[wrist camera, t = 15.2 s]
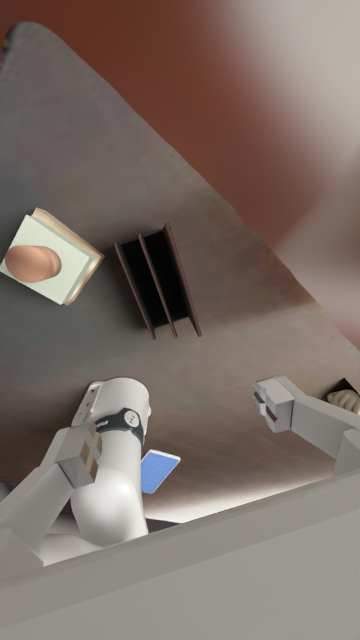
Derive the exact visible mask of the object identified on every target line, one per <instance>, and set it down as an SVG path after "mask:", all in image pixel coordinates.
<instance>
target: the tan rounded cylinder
mask: <svg viewBox="0 0 360 640" xmlns="http://www.w3.org/2000/svg"><path fill="white" fill-rule="evenodd" d="M5 264H6V267H7V269H8V271H9V272H10V273H11V275H12V276H14V277H15V278H16V279H18V280H20V281H22V282H25V283H36V282H39V281H43V280H46V279H49V278H53V277H55V276H57V275H58V274H59V273H60V271H61V268H62V263H61V260H60V258H59V256H58V254H57V253H56V252H55V251H53V250H52V249H50V248H48V247H45V246H24V245H19V246H14V247H12V248H10V249H9V250H8V251H7V253H6V255H5Z"/></svg>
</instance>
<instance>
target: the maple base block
mask: <svg viewBox="0 0 360 640" xmlns="http://www.w3.org/2000/svg"><path fill="white" fill-rule="evenodd" d="M32 217H36V218H39V219H41V220H43V221H44V222H46V223H47V224H49V225H50V226H52V227H53V228H54V229H56V230H57V231H59V232H60V233H62V234H63V235H65V236H66V237H68V238H69V239H71V240H72V241H73V242H75V243H76V244H78V245H79V246H81V247H82V248H84V249H85V250H87V251H88V252H90V253H91V254H92V255H94V256H95V259H94V260H93V262H92V264H91V265H90V267H89V268H88V270H87V272H86V273H85V275H84V277H83V278H82V280H81V281H80V283H79V285H78V286H77V288H76V290H75V291H74V293H73V294H72V296H71V298H70V299H69V300H68V301H66V302H65V303H64V304H66V305H69V304H70V303H72V302H73V301H74V300H75V298H76V297H77V296H78V294H79V293H80V291H81V290H82V288H83V287H84V286H85V284H86V283H87V281H88V280H89V279H90V277H91V276H92V274H93V273H94V272H95V270H96V269H97V267H98V266H99V265H100V263H101V262H102V260H103V259H104V257H105V255H103V254H102V253H101V252H99V251H98V250H97V249H95V248H94V247H93V246H92V245H90V244H89V243H88V242H86V241H85V240H84V239H82V238H81V237H80V236H78V235H77V234H76V233H75V232H73V231H72V230H71V229H69V228H68V227H67V226H65V225H64V224H63V223H62V222H60V221H59V220H58V219H56V218H55V217H54V216H52V215H51V214H50V213H49V212H47V211H45V210H42V209H40V208H36V209H35V211H34V213H33V214H32Z"/></svg>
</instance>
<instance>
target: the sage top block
mask: <svg viewBox="0 0 360 640" xmlns="http://www.w3.org/2000/svg"><path fill="white" fill-rule="evenodd" d="M19 245H24V246H45V247H48V248H50V249H52V250H53V251H55V252H56V253H57V254H58V256H59V258H60V260H61V263H62V268H61V271H60V273H59V274H58V275H57V276H55V277H53V278H49V279H46V280H43V281H39V282H36V283H25V282H22V281H20V280H18V279H16V278H15V277H14V276H12V275H11V273H10V272H9V271H8V269H7V267H6V264H5V258H4V260H3V262H2V263H1V265H0V272H2V273H4V274H6V275H8V276H9V277H11V278H13V279H15V280H17V281H18V282H20V283H22V284H24V285H26V286H28V287H29V288H31V289H33V290H35V291H37V292H38V293H40V294H42V295H44V296H46V297H47V298H49V299H51V300H53V301H55V302H56V303H58V304H60V305H61V304H63V303H65V302H66V301H68V300H69V299H70V298H71V296H72V294H73V293H74V291H75V290H76V288H77V286H78V285H79V283H80V281H81V280H82V278H83V277H84V275H85V273H86V272H87V270H88V268H89V267H90V265H91V264H92V262H93V260H94V259H95V256H94V255H92V254H91V253H90V252H88V251H87V250H85V249H84V248H82V247H81V246H79V245H78V244H76V243H75V242H73V241H72V240H71V239H69V238H68V237H66V236H65V235H63V234H62V233H60V232H59V231H57V230H56V229H54V228H53V227H52V226H50V225H49V224H47V223H46V222H44V221H43V220H41V219H39V218H36V217H32V216H29V215H26V216H25V218H24V220H23V222H22V224H21V226H20V228H19V230H18V232H17V234H16V236H15V238H14V240H13V242H12V244H11V246H10V248H12V247H14V246H19ZM10 248H9V249H10Z"/></svg>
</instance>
